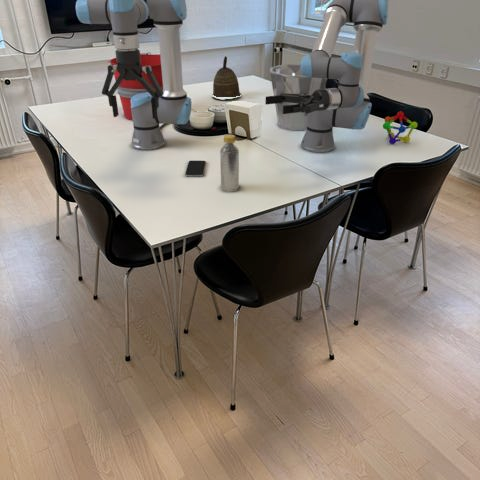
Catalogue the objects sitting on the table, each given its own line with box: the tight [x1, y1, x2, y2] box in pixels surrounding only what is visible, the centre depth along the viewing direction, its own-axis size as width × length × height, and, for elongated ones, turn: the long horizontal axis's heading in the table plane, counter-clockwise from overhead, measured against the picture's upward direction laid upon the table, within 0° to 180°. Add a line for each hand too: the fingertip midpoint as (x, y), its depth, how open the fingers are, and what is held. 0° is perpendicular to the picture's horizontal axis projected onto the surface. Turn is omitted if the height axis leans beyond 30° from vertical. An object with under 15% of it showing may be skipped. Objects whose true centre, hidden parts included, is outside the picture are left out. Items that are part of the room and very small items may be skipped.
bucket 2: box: [269, 63, 328, 131], centre depth 226 cm, size 30×30×28 cm
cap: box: [223, 134, 236, 144], centre depth 157 cm, size 4×4×2 cm
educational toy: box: [382, 110, 418, 145], centre depth 207 cm, size 16×13×15 cm
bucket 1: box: [106, 51, 163, 121], centre depth 240 cm, size 35×35×30 cm
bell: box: [212, 56, 242, 97], centre depth 278 cm, size 19×26×20 cm
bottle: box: [219, 143, 240, 193], centre depth 162 cm, size 7×7×20 cm
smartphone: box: [184, 160, 207, 177], centre depth 182 cm, size 7×1×15 cm
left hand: (135, 116), depth 150 cm, fingers open, 13 cm apart
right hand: (274, 105), depth 157 cm, fingers open, 13 cm apart
